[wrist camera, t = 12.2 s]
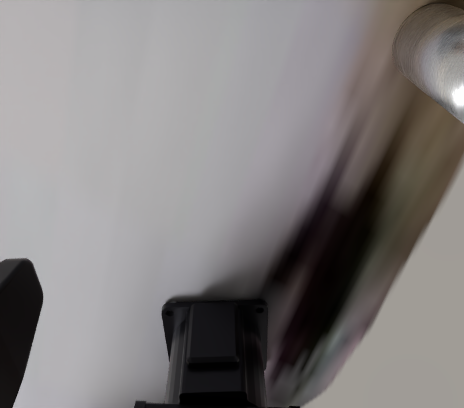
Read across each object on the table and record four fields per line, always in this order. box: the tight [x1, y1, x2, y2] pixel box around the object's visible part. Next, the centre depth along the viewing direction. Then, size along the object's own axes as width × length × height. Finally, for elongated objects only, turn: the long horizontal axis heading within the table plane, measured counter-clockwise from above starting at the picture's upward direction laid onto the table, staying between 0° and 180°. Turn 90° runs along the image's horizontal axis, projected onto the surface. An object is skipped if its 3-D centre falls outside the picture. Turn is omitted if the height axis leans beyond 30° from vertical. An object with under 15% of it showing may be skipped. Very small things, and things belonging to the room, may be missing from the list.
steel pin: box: [392, 3, 464, 124], centre depth 16 cm, size 3×3×6 cm
